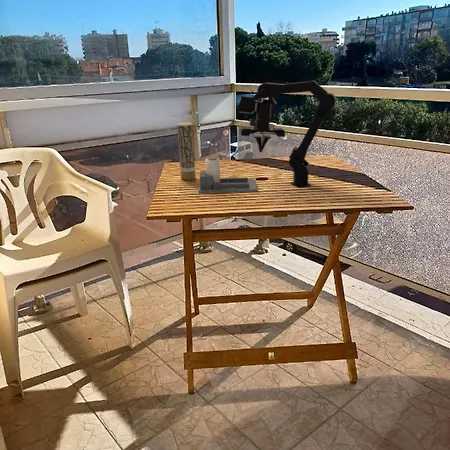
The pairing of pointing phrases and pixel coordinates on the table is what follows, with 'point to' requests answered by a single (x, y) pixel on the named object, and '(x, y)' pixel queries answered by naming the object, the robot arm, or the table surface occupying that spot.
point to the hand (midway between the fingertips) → (260, 152)
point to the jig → (225, 184)
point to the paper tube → (186, 150)
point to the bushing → (213, 169)
